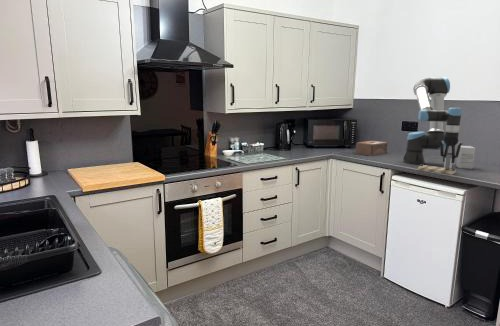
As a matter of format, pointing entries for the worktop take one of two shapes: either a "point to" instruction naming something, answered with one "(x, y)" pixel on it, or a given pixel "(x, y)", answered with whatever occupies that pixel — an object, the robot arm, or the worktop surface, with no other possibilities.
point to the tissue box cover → (371, 148)
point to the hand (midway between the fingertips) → (447, 167)
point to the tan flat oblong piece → (436, 169)
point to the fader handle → (448, 160)
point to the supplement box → (466, 157)
